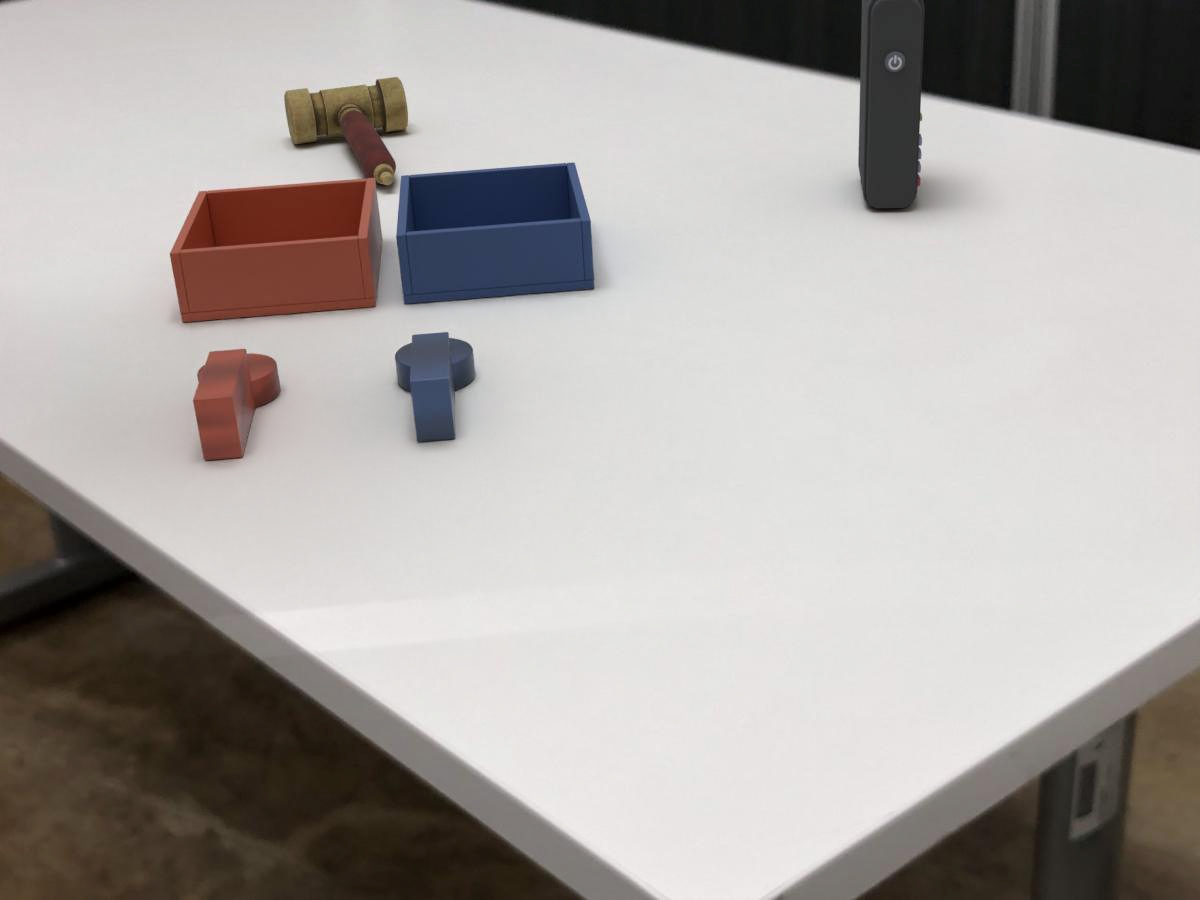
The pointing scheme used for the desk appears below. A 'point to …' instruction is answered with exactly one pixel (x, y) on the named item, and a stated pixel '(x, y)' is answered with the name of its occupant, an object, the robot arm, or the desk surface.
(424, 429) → the blue disc with bar
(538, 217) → the blue bin
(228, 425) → the red bar with disc
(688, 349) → the desk surface
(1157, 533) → the desk surface
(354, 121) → the gavel
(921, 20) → the card reader
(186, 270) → the red bin
